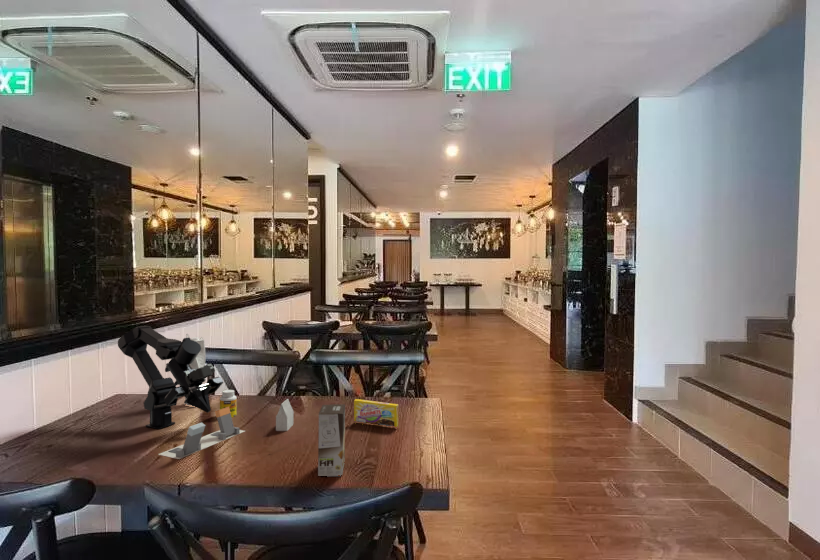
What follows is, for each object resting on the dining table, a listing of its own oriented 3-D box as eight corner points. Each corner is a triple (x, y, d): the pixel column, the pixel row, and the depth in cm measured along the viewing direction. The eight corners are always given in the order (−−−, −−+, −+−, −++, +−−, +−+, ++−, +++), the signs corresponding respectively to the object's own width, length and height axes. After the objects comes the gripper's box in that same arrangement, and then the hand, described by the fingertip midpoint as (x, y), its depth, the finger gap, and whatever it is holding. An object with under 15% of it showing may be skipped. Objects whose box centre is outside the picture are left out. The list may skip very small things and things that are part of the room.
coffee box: (343, 476, 118) (343, 413, 118) (317, 477, 118) (318, 414, 118) (345, 462, 127) (345, 403, 127) (321, 462, 127) (321, 404, 127)
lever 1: (180, 452, 127) (189, 426, 126) (193, 447, 131) (201, 422, 130) (184, 455, 127) (193, 429, 125) (197, 450, 130) (205, 425, 129)
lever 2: (221, 437, 141) (214, 411, 142) (231, 433, 145) (225, 407, 146) (225, 436, 140) (218, 410, 142) (235, 432, 144) (228, 406, 145)
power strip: (157, 459, 128) (157, 447, 128) (226, 432, 151) (226, 422, 151) (179, 464, 125) (179, 452, 125) (245, 435, 148) (245, 425, 148)
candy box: (353, 423, 161) (353, 400, 161) (356, 422, 163) (356, 398, 163) (396, 430, 155) (396, 405, 155) (398, 428, 157) (399, 403, 157)
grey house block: (293, 428, 155) (293, 398, 155) (287, 435, 148) (287, 404, 148) (282, 428, 155) (282, 398, 155) (275, 435, 148) (276, 404, 148)
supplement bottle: (221, 423, 160) (221, 393, 160) (218, 419, 164) (218, 390, 164) (238, 420, 163) (238, 391, 163) (234, 416, 168) (234, 388, 167)
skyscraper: (178, 407, 180) (178, 334, 180) (191, 401, 188) (191, 332, 188) (197, 408, 179) (198, 335, 179) (210, 402, 187) (210, 333, 187)
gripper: (171, 361, 139) (198, 402, 135) (219, 352, 156) (244, 388, 152) (152, 385, 142) (178, 426, 138) (201, 374, 159) (226, 410, 155)
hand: (209, 411), depth 146 cm, fingers closed
